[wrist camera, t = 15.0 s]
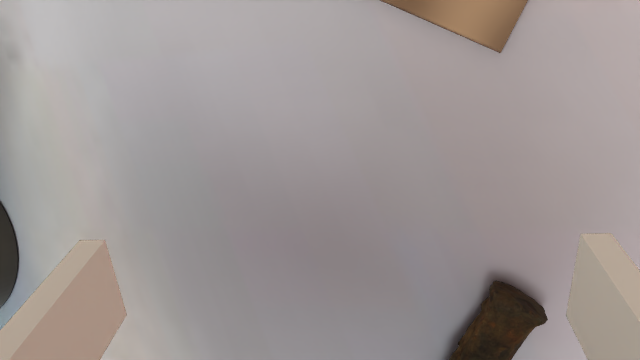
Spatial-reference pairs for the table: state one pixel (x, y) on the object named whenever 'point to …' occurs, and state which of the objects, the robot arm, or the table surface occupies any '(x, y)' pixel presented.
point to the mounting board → (469, 17)
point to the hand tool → (500, 325)
